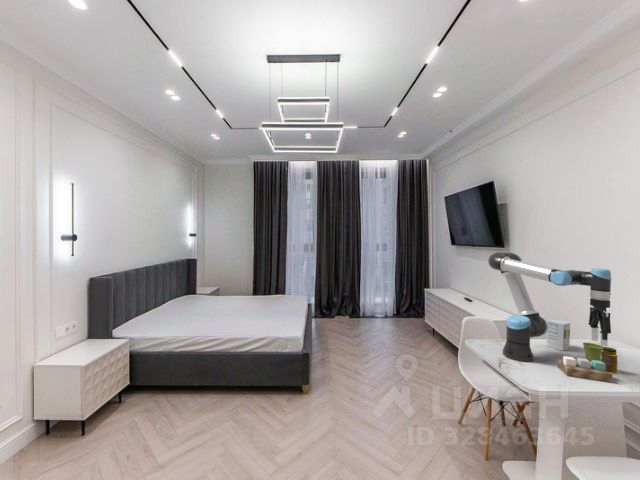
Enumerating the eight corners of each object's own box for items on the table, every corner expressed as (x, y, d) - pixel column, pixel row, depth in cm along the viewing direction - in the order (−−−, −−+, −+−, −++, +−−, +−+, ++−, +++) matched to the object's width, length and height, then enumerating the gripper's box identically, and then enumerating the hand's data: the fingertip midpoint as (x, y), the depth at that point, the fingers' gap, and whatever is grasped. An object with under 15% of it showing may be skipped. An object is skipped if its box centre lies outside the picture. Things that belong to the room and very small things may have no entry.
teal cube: (595, 370, 149) (595, 362, 149) (591, 367, 153) (591, 359, 153) (605, 371, 148) (605, 364, 148) (600, 368, 152) (601, 361, 152)
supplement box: (563, 351, 186) (563, 324, 185) (546, 346, 194) (546, 320, 194) (569, 348, 190) (570, 322, 190) (553, 343, 198) (553, 319, 198)
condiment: (621, 373, 155) (622, 350, 155) (609, 374, 154) (610, 351, 154) (605, 367, 163) (605, 345, 163) (593, 368, 161) (594, 346, 161)
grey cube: (580, 368, 151) (580, 360, 151) (576, 365, 155) (577, 357, 155) (590, 369, 150) (590, 362, 150) (586, 366, 154) (586, 359, 154)
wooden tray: (567, 375, 150) (567, 368, 150) (557, 366, 161) (557, 359, 161) (612, 382, 144) (612, 374, 144) (598, 372, 155) (599, 365, 155)
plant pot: (608, 364, 167) (608, 349, 167) (589, 362, 168) (589, 347, 168) (596, 357, 176) (596, 343, 176) (578, 356, 178) (578, 341, 178)
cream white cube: (566, 366, 153) (566, 358, 153) (562, 363, 157) (563, 356, 157) (575, 367, 152) (575, 360, 152) (572, 364, 156) (572, 357, 156)
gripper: (622, 303, 139) (620, 351, 139) (598, 296, 159) (597, 337, 159) (602, 302, 142) (600, 348, 142) (581, 294, 161) (579, 335, 161)
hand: (598, 343), depth 150 cm, fingers open, 8 cm apart
